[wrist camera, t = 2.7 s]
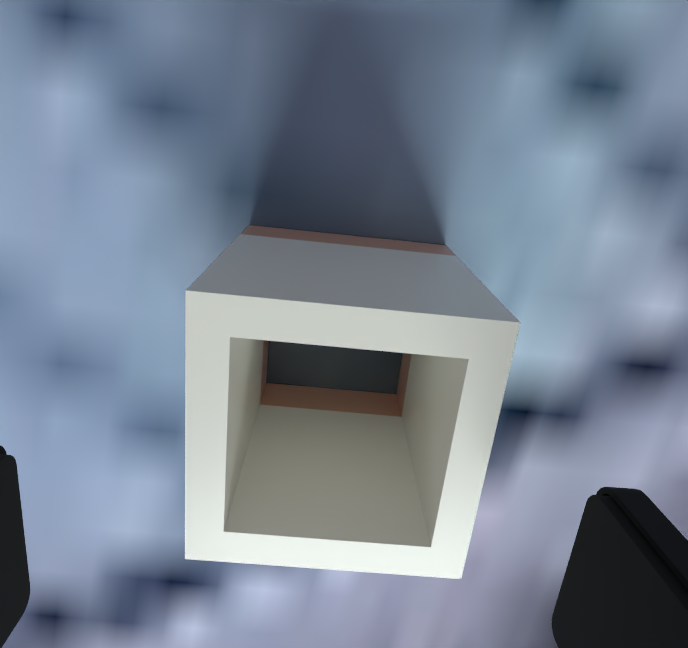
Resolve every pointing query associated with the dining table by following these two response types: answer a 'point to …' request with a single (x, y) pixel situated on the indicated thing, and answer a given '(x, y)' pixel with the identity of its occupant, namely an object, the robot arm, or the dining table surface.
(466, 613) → the dining table surface
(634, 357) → the dining table surface
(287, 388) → the sleeve
